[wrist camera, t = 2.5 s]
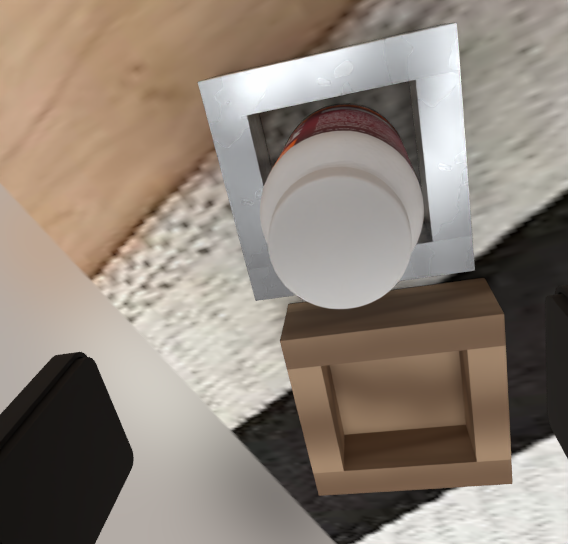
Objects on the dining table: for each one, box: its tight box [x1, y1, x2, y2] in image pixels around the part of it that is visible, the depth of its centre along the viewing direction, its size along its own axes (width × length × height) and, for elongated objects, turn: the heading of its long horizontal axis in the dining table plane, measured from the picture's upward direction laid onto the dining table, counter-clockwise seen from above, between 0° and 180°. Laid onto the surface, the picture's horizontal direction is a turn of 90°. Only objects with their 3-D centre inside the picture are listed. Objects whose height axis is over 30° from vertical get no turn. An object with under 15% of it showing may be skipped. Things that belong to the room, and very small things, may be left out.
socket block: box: [198, 23, 475, 301], centre depth 25 cm, size 11×11×3 cm
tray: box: [280, 278, 512, 496], centre depth 30 cm, size 11×11×4 cm
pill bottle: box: [260, 104, 424, 309], centre depth 21 cm, size 6×6×11 cm
